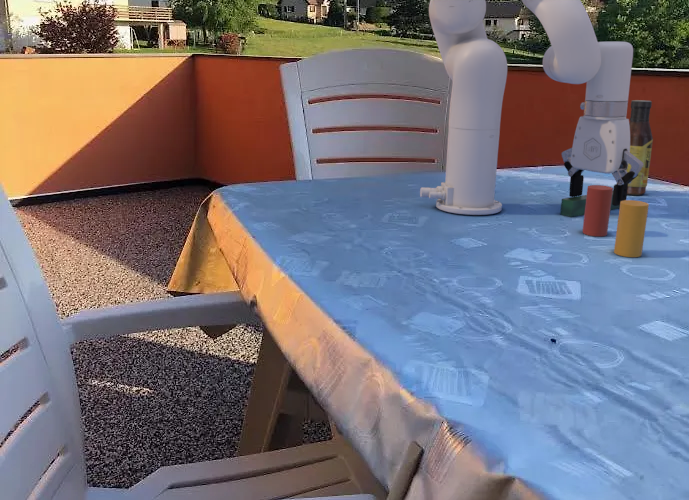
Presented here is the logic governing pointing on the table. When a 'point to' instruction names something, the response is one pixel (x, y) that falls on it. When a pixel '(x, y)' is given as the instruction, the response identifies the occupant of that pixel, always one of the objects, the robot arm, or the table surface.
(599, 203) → the red rod
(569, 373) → the table surface
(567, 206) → the green bar
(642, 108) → the sauce bottle
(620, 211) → the yellow rod
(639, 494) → the table surface
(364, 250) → the table surface
